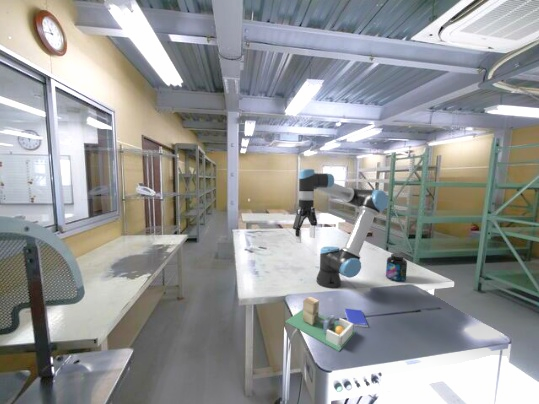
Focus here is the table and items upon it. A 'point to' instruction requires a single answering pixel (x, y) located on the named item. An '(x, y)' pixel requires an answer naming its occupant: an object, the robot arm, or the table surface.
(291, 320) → the pitch mat
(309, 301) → the rod slider
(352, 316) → the blue flat square slab
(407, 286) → the table surface
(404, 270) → the container
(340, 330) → the ball
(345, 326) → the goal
